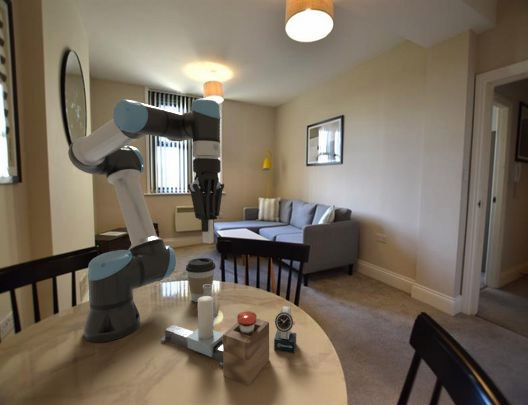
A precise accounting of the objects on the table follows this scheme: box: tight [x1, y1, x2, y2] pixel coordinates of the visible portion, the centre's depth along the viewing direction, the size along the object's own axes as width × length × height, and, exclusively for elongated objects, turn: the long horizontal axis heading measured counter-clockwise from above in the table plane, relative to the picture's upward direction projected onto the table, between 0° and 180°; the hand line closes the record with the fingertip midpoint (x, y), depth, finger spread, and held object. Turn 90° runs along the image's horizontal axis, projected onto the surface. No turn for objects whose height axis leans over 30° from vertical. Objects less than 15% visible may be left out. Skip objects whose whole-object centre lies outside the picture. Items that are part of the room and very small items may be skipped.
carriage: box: [187, 296, 225, 358], centre depth 70 cm, size 8×6×13 cm
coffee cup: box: [185, 257, 216, 303], centre depth 102 cm, size 11×11×15 cm
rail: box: [160, 324, 223, 368], centre depth 72 cm, size 22×6×3 cm, turn 62°
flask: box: [197, 284, 219, 318], centre depth 90 cm, size 7×7×10 cm
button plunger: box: [236, 311, 257, 336], centre depth 64 cm, size 5×5×6 cm
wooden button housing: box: [222, 317, 270, 387], centre depth 64 cm, size 7×10×10 cm
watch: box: [273, 305, 297, 354], centre depth 72 cm, size 6×8×11 cm
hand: (208, 242), depth 74 cm, fingers closed
